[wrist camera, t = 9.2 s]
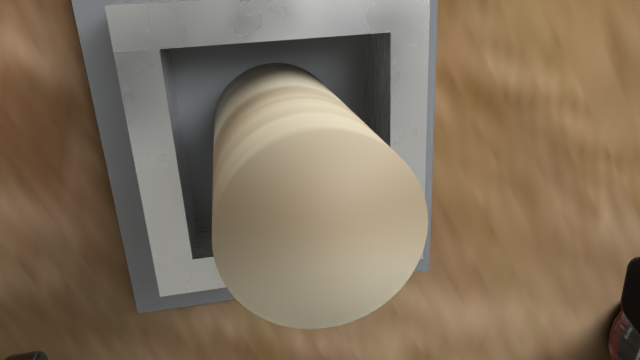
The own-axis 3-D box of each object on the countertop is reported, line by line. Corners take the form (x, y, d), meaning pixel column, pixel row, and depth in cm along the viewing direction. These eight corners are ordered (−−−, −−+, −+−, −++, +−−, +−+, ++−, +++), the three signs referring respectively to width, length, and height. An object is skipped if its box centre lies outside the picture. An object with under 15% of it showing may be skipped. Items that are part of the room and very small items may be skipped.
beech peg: (338, 175, 20) (426, 311, 12) (222, 188, 19) (226, 344, 11) (333, 57, 18) (430, 119, 10) (206, 68, 18) (197, 143, 9)
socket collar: (395, 222, 21) (423, 258, 18) (167, 252, 20) (159, 296, 17) (397, -15, 18) (430, -14, 15) (122, 1, 16) (104, 5, 14)
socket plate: (420, 259, 23) (429, 270, 22) (141, 299, 21) (137, 313, 20) (429, -95, 18) (441, -99, 17) (61, -83, 16) (52, -87, 15)
